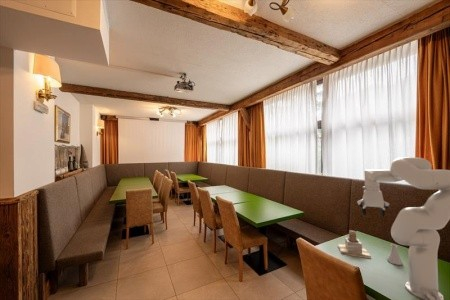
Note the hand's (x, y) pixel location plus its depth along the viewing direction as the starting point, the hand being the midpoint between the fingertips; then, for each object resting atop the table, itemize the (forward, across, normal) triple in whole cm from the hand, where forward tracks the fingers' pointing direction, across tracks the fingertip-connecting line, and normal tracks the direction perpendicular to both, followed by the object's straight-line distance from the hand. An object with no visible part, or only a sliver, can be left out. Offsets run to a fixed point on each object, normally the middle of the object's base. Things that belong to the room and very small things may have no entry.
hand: (373, 215), depth 123 cm
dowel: (+25, -11, +4) cm, 27 cm away
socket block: (+26, -11, +4) cm, 29 cm away
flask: (+27, +9, -3) cm, 28 cm away
